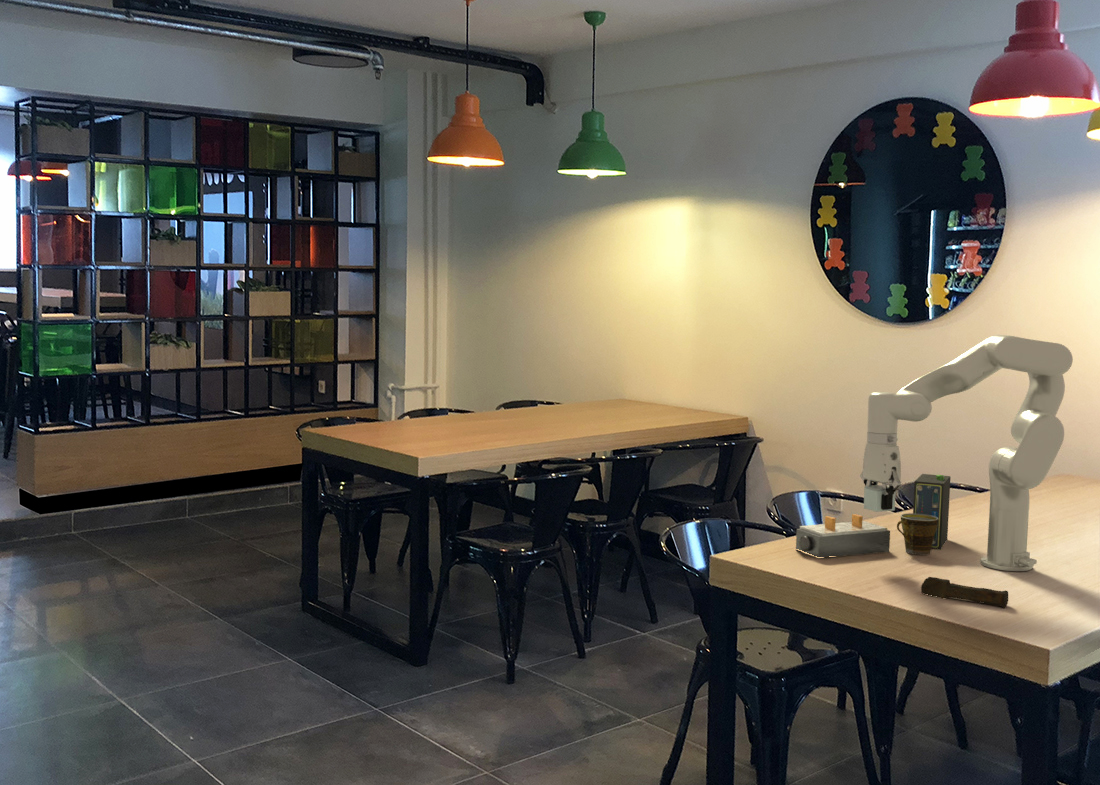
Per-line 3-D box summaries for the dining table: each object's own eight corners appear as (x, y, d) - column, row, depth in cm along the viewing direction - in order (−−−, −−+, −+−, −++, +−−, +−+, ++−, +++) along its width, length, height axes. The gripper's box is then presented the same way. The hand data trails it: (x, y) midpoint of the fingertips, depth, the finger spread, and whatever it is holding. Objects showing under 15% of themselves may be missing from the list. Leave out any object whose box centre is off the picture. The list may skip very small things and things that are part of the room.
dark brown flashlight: (1009, 606, 236) (1010, 586, 235) (1005, 610, 232) (1006, 590, 232) (924, 592, 246) (925, 573, 246) (919, 596, 243) (920, 576, 243)
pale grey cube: (894, 510, 271) (895, 487, 270) (876, 511, 268) (877, 489, 268) (881, 506, 275) (882, 484, 275) (863, 508, 273) (864, 486, 273)
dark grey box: (910, 547, 292) (913, 477, 290) (919, 535, 308) (922, 469, 306) (940, 551, 288) (943, 480, 286) (948, 538, 304) (951, 471, 302)
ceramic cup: (917, 546, 293) (919, 512, 292) (944, 554, 284) (946, 519, 283) (883, 550, 287) (884, 515, 286) (909, 558, 278) (911, 522, 277)
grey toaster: (889, 551, 286) (890, 517, 285) (814, 559, 276) (815, 523, 276) (865, 543, 295) (866, 510, 294) (792, 550, 286) (793, 515, 285)
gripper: (916, 442, 264) (913, 512, 266) (871, 434, 280) (869, 500, 281) (892, 443, 261) (890, 514, 263) (849, 435, 277) (846, 502, 278)
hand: (879, 506), depth 272 cm, fingers closed on pale grey cube, 5 cm apart
